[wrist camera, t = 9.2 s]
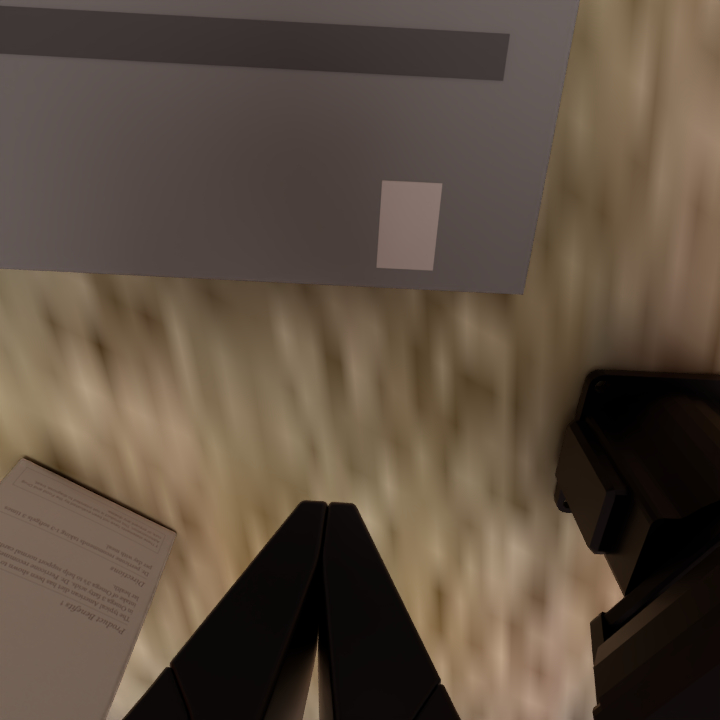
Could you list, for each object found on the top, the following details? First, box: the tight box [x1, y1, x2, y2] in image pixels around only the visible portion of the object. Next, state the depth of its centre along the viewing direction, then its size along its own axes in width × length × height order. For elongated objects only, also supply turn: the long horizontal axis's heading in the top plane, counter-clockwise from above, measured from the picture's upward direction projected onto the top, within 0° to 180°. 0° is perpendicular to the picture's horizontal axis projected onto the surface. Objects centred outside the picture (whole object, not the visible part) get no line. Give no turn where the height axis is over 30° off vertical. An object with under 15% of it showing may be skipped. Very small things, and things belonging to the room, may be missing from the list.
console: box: [0, 0, 580, 295], centre depth 15 cm, size 20×12×3 cm, turn 87°
